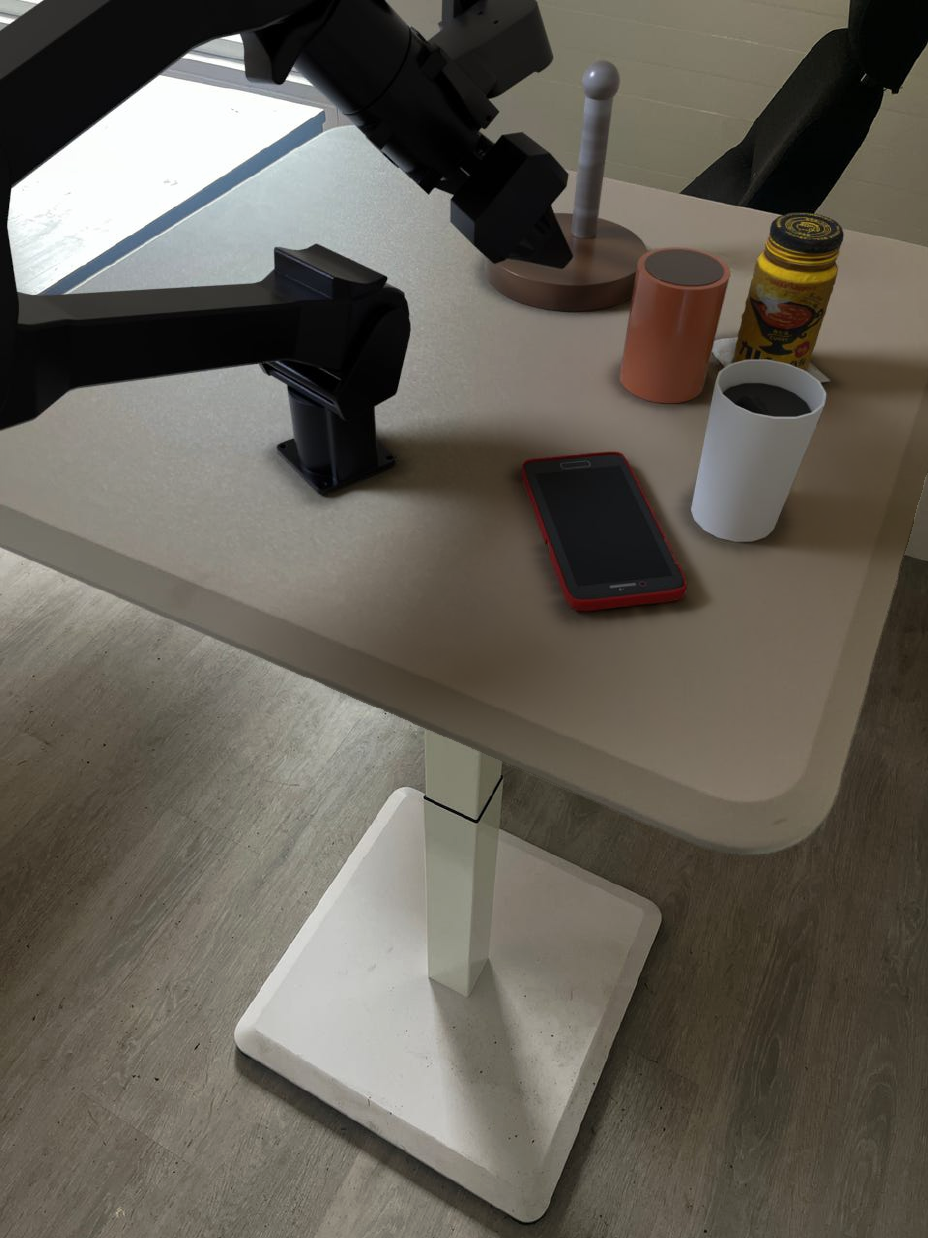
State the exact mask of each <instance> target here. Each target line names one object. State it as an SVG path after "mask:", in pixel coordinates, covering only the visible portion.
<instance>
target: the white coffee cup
mask: <svg viewBox="0 0 928 1238" xmlns="http://www.w3.org/2000/svg"><path fill="white" fill-rule="evenodd" d="M826 398H827V392H826V390H825V388H824V386H823V385H822V382H821V383H820V381H818V380H817V379H816V378H814V377H813V376H812V375H810V374H809V373H808V372H806V371H804V370H802V369H799V368H797V367H795V366H792V365H790V364H787V363H782V362H777V361H772V360H767V359H764V360H743V361H739V362H736V363H732V364H729V365H728V366H726V367H723V368H722V369H721V370H719V371H718V374H717V377H716V380H715V383H714V388H713V393H712V399H711V403H710V409H709V413H708V418H707V425H706V428H705V435H704V439H703V440H704V441H703V444H702V451H701V455H700V460H699V464H698V465H699V466H698V471H697V477H696V481H695V487H694V492H693V496H692V503H691V507H690V511H691V514H692V518H693V520H694V522H695V523H696V524H697V525H698V526H699V527H700V528H701V529H702V530H703V531H704V532H706V533H708V534H710V535H712V536H714V537H716V538H717V539H722V540H725V541H730V542H735V543H744V542H746V543H749V542H751V543H753V542H755V541H758V540H761V539H765V538H767V537H768V536H769V535H770V534H771V533H772V532H773V531H774V530H775V527H776V525H777V523H778V520H779V518H780V516H781V514H782V513H781V512H782V511H783V508H784V505H785V503H786V501H787V498H788V496H789V493H790V491H791V489H792V486H793V483H794V481H795V478H796V476H797V473H798V471H799V469H800V466H801V465H802V461H803V459H804V457H805V455H806V453H807V449H808V447H809V444H810V441H811V439H812V437H813V434H814V431H815V430H816V427H817V424H818V422H819V421H820V416H821V415H822V412H823V410H824V407H825V404H826V400H827V399H826Z"/></svg>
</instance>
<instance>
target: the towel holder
mask: <svg viewBox="0 0 928 1238" xmlns="http://www.w3.org/2000/svg"><path fill="white" fill-rule="evenodd" d="M582 75H583V76H582V78H581V86H582V91H583V94H584V105H583V112H582V113H583V114H582V124H581V132H580V143H579V153H578V162H577V172H576V181H575V190H574V191H575V192H574V200H573V210H572V213H569V212H554V214H555V216H556V219H557V221H558V223H559V225H560V227H561V230H562V232H563V234H564V236H565V238H566V240H567V243H568V245H569V247H570V249H571V251H572V253H573V258H572V260H571V261H570V262H569V263H568V264H567V266H566V267H565V268H563V269H558V268H553V267H548V266H544V265H539V264H534V263H529V262H523V261H518V260H510V259H506V260H505V261H502V262H499V263H496V264H493V263H492V262H491V261H490V260H489V259H488V258H487V257H486V256H485V255H484V274H485V277H486V280H487V281H488V282H489V284H490V285H491V286H492V287H493V288H494V289H495V290H496V291H498V292H499V293H500V294H502V295H503V296H505V297H506V298H508V299H511V300H513V301H514V302H515V301H516V302H518V303H520V304H523V305H527V306H529V307H534V308H538V309H543V310H549V311H559V312H588V311H596V310H602V309H607V308H611V307H613V306H618V305H619V304H622V303H625V302H626V301H628V300H629V299H632V295H633V289H634V283H635V276H636V270H637V264H638V260H639V259H640V257H641V256H643V255H644V254H645V253H647V252H648V249H647V246H646V244H645V242H644V241H643V240H642V239H641V237H639V236H638V235H637V234H636V233H635V232H634V231H632V230H630V229H628V228H627V227H625V226H623V225H621V224H619V223H616V222H613V221H611V220H608V219H604V218H601V217H599V215H600V207H601V200H602V199H601V198H602V191H603V183H604V176H605V167H606V160H607V151H608V145H609V135H610V126H611V120H612V119H611V118H612V111H613V103H614V97H615V96H616V95H617V93H618V92H619V89H620V85H621V76H620V75H621V74H620V71H619V70H618V68H617V67H616V65H615V64H614V63H613V62H611V61H610V60H606V59H599V60H596V61H593V62H592V63H590V64H589V65H588V66H587V67H586V69H585V70H584V73H583V74H582Z"/></svg>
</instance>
